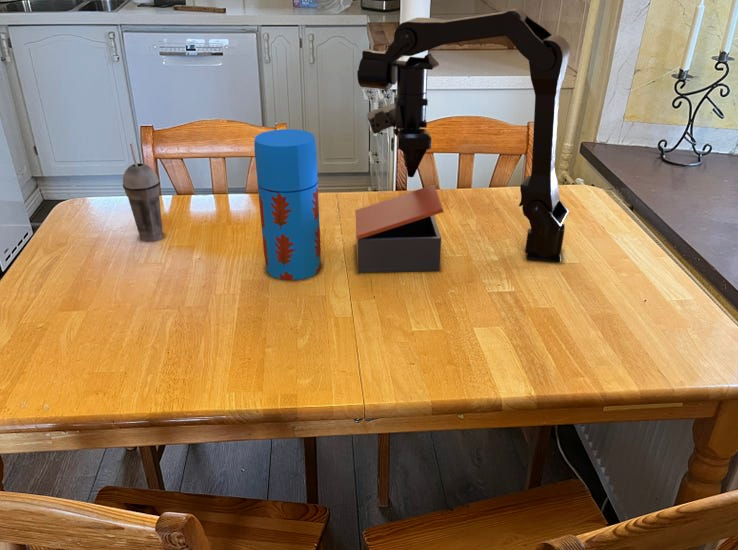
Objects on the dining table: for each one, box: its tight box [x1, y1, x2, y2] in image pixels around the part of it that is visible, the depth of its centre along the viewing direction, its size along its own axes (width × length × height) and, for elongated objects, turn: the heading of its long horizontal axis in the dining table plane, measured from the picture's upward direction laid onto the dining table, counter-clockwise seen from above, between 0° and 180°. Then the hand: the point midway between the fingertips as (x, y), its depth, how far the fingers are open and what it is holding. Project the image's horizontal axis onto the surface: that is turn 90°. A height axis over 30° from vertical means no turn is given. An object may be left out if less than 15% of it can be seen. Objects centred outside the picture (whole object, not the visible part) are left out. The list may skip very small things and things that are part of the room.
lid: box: [355, 184, 444, 239], centre depth 131 cm, size 16×13×1 cm
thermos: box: [253, 128, 322, 281], centre depth 126 cm, size 11×11×25 cm
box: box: [355, 215, 442, 274], centre depth 135 cm, size 16×13×7 cm
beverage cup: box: [122, 142, 163, 242], centre depth 140 cm, size 7×7×20 cm
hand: (409, 171), depth 140 cm, fingers open, 6 cm apart
